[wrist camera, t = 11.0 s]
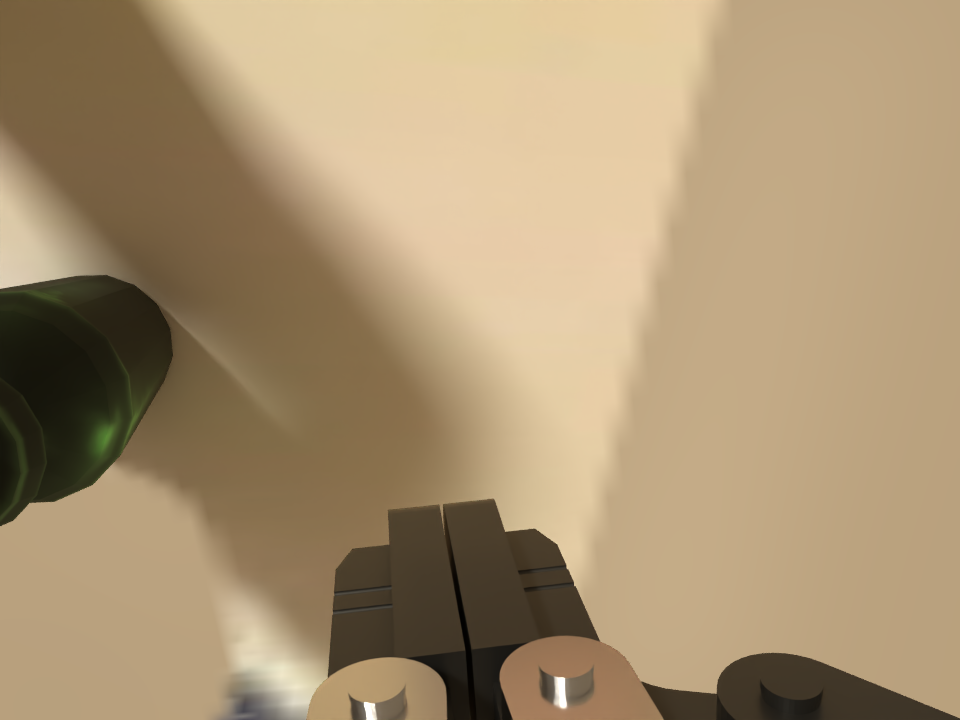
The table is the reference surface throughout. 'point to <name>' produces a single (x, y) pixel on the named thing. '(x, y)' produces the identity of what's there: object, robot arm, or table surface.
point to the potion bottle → (73, 382)
